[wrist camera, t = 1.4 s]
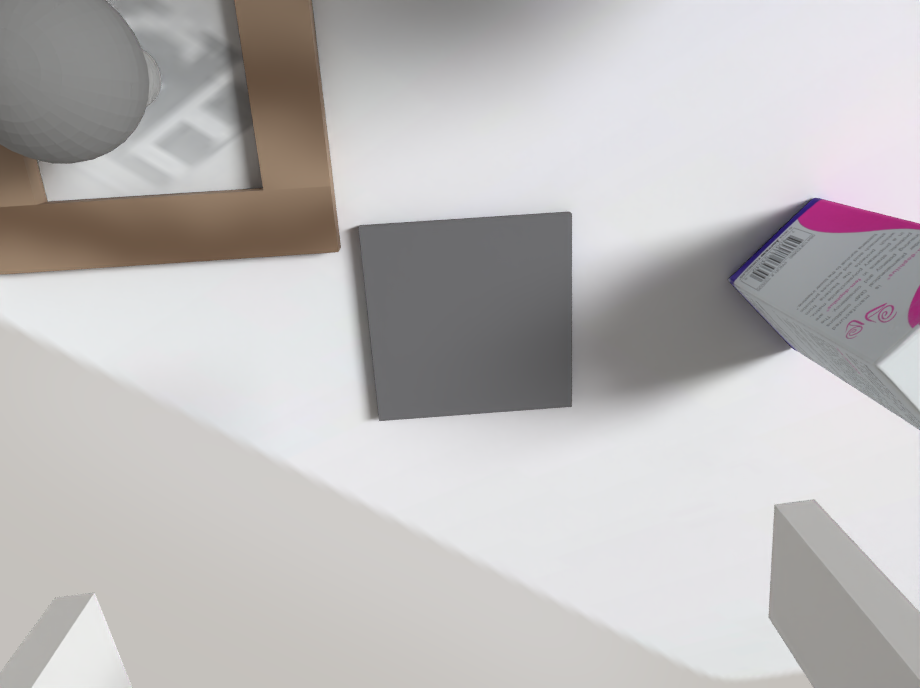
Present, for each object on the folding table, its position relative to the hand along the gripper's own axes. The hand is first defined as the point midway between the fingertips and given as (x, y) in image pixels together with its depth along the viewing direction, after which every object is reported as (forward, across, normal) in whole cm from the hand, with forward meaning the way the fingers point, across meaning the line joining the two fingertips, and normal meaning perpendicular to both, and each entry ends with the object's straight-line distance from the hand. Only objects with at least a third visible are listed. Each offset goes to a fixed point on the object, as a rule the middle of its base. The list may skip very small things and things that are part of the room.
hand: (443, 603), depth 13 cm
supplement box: (+22, +19, -2) cm, 29 cm away
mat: (+21, +2, -2) cm, 22 cm away
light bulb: (+22, -12, +11) cm, 27 cm away
